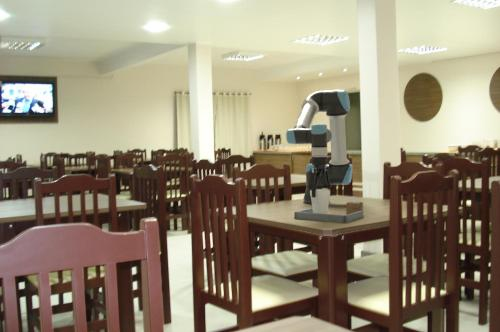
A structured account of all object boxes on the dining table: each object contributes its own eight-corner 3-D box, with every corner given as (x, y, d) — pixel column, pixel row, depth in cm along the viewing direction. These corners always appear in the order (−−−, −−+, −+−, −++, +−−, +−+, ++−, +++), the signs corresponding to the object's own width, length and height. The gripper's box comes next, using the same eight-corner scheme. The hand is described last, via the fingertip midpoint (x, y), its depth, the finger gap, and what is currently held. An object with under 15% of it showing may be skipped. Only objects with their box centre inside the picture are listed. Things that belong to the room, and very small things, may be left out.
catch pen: (314, 213, 270) (314, 207, 270) (363, 217, 255) (363, 210, 255) (294, 218, 255) (294, 212, 254) (345, 222, 239) (345, 216, 239)
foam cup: (313, 218, 253) (313, 191, 252) (307, 216, 262) (307, 189, 261) (333, 218, 255) (332, 190, 254) (326, 215, 264) (326, 188, 263)
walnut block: (351, 213, 268) (351, 201, 268) (362, 214, 265) (362, 202, 264) (346, 214, 263) (346, 202, 263) (357, 215, 260) (357, 203, 259)
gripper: (323, 155, 268) (324, 199, 269) (300, 157, 249) (301, 205, 251) (337, 155, 263) (337, 200, 265) (314, 157, 245) (315, 206, 246)
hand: (320, 202), depth 258 cm, fingers open, 10 cm apart
